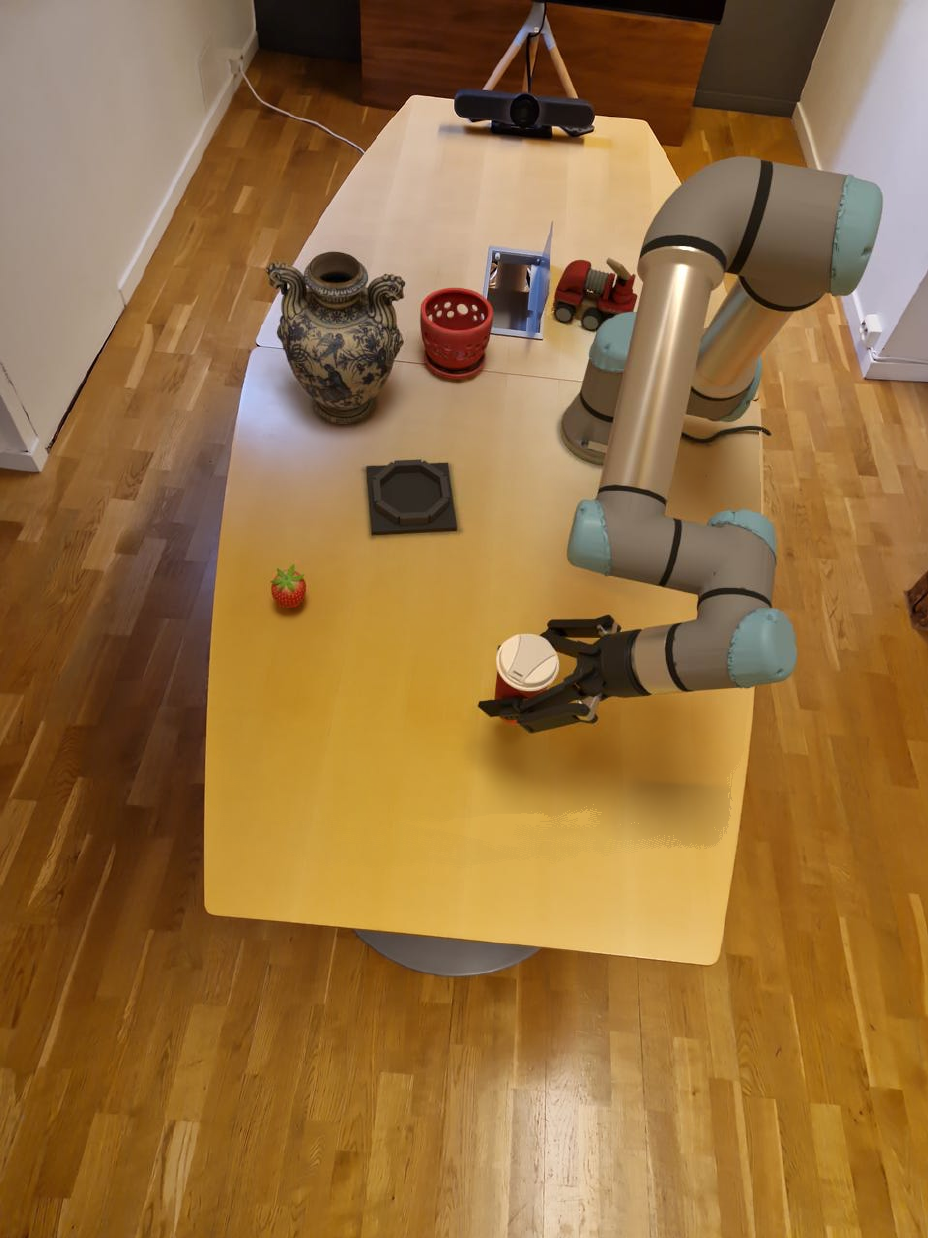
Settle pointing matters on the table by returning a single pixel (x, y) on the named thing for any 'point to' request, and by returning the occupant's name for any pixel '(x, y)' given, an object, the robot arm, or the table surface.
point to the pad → (410, 498)
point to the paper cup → (524, 667)
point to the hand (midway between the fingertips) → (494, 680)
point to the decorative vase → (338, 332)
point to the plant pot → (455, 332)
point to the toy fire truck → (593, 294)
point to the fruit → (288, 588)
